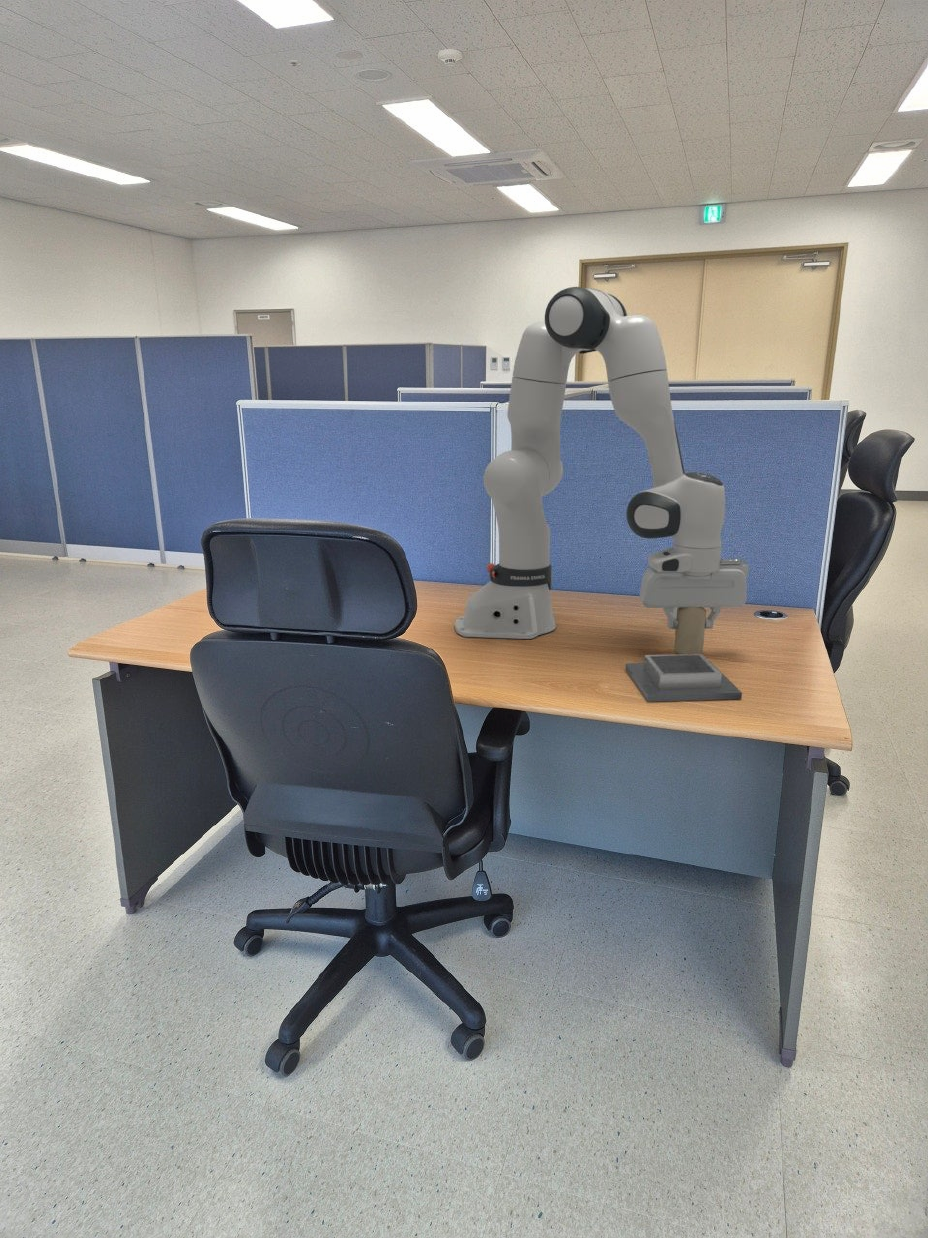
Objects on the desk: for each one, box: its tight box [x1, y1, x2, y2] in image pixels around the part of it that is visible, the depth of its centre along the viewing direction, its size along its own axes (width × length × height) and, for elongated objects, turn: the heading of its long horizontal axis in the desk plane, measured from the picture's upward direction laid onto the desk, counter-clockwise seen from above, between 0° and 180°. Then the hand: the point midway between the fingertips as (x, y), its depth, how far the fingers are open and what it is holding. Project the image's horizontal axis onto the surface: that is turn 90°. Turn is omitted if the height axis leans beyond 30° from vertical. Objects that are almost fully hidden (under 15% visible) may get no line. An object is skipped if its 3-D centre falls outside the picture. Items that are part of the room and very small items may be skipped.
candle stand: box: [625, 653, 743, 703], centre depth 139 cm, size 16×16×4 cm
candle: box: [673, 607, 707, 655], centre depth 154 cm, size 6×6×10 cm
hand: (690, 628), depth 154 cm, fingers closed on candle, 5 cm apart
